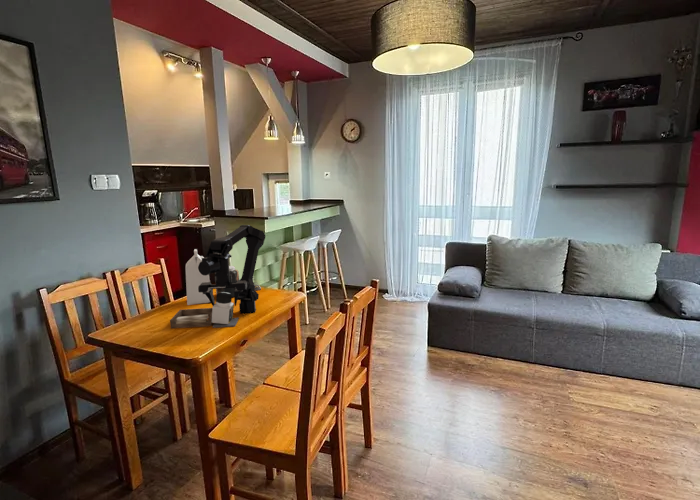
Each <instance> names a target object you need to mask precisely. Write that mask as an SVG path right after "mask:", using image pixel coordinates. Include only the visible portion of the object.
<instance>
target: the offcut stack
mask: <svg viewBox="0 0 700 500" xmlns="http://www.w3.org/2000/svg"><path fill="white" fill-rule="evenodd" d="M208 318H209V316H208V314H206V315H195V316H183V317H178V318H177V322H176V324H183V323H200V322H208Z"/></svg>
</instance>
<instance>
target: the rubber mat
mask: <svg viewBox="0 0 700 500" xmlns="http://www.w3.org/2000/svg"><path fill="white" fill-rule="evenodd" d="M238 321H239V317H233V318H232V320H231V321H230V323H229V324H220V323H213V324H212V328H213V329H215V328H217V329H218V328H231V327H236V325H237V323H238Z"/></svg>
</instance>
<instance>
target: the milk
mask: <svg viewBox="0 0 700 500" xmlns="http://www.w3.org/2000/svg"><path fill="white" fill-rule="evenodd" d="M202 258H205V257H204V256H203V255H199V254H198V248H194V250H193V256H192V257H191V258H189V260H188V261H187V262H186V263H185V283H186V284H185V285H186V287H185V288H186V303H187V304H186V305H187V306H191V305H198V304H208V303H211V302H210V300H209V299H208V297H207V296H206V295H205V294H203V292H199V291H198V287H199V285H200V284H201V283H203V282H211V280H210V278H211V277H210V274H209V275H202V274H201V273H200V272H199V270H198V266H199V263H200V262H201V261H202Z"/></svg>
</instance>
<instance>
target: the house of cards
mask: <svg viewBox="0 0 700 500" xmlns="http://www.w3.org/2000/svg"><path fill="white" fill-rule="evenodd" d="M253 281H255V283H254V285H255V291H256V292H257V291H261V290H262V287H261V286H260V284H259V283H258V282H257V281H256V279H255V277H254V276H253Z"/></svg>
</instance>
